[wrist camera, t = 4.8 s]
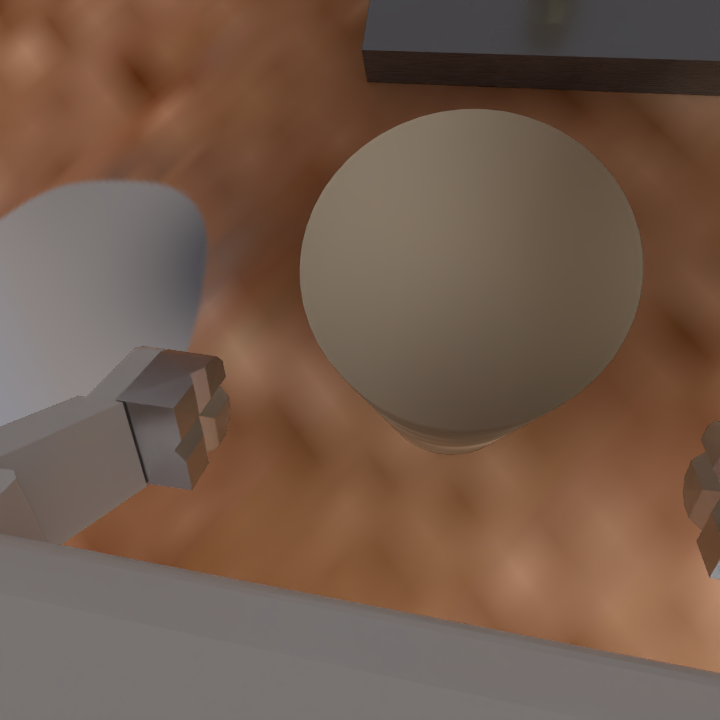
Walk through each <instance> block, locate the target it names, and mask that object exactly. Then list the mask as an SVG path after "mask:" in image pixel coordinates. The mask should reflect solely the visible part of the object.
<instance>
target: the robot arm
mask: <svg viewBox="0 0 720 720" xmlns="http://www.w3.org/2000/svg"><path fill="white" fill-rule="evenodd" d="M225 377H226V376H225V371H224V366H223V361H222V360H221V359H219V358H218V357H216V356H210V355H203V354H196V353H190V352H183V351H176V350H170V349H167V350H166V349H161V348H154V347H146V346H141V347H136V348H134V349H133V351H132V352H131V353H130V354H128V355H127V356H126V358H125V359H124V360H122V362H121V363H120V364H118V365H117V366H116V368H115V369H114V370H113V371H112V372H111V373H110V374H109V375H108V376H107V377H106V378H105V379H104V380H103V381H102V382H101V383H100V384H99V385H98V386H97V387H96V388H95V389H94V390H93V391H92V392H91V393H90V394H89V395H88V396H87V397H84V396H76V397H74V398H71V399H69V400H66V401H64V402H61V403H59V404H56V405H54V406H51V407H49V408H46V409H44V410H41V411H39V412H36V413H34V414H31V415H28V416H26V417H24V418H21V419H19V420H16V421H13V422H11V423H8V424H6V425H3V426H1V427H0V720H720V673H717V672H712V671H707V670H701V669H696V668H691V667H686V666H681V665H676V664H671V663H665V662H660V661H655V660H650V659H645V658H640V657H635V656H629V655H624V654H619V653H614V652H609V651H604V650H599V649H593V648H588V647H583V646H578V645H573V644H568V643H563V642H558V641H552V640H547V639H542V638H537V637H532V636H527V635H522V634H516V633H511V632H506V631H501V630H496V629H491V628H486V627H480V626H475V625H470V624H465V623H460V622H455V621H450V620H444V619H439V618H434V617H429V616H424V615H419V614H414V613H408V612H403V611H398V610H393V609H388V608H383V607H378V606H372V605H367V604H362V603H357V602H352V601H347V600H342V599H336V598H331V597H326V596H321V595H316V594H311V593H306V592H300V591H295V590H290V589H285V588H280V587H275V586H270V585H264V584H259V583H254V582H249V581H244V580H239V579H234V578H228V577H223V576H218V575H213V574H208V573H203V572H198V571H192V570H187V569H182V568H177V567H172V566H167V565H162V564H156V563H151V562H146V561H141V560H136V559H131V558H126V557H120V556H115V555H110V554H105V553H100V552H95V551H90V550H84V549H79V548H74V547H69V546H64V545H61V544H63V543H64V542H66V541H67V540H69V539H70V538H71V537H73V536H74V535H76V534H77V533H79V532H80V531H82V530H83V529H85V528H86V527H88V526H89V525H91V524H92V523H93V522H95V521H96V520H98V519H99V518H101V517H102V516H104V515H105V514H107V513H108V512H110V511H111V510H113V509H114V508H116V507H117V506H118V505H120V504H121V503H123V502H124V501H126V500H127V499H129V498H130V497H132V496H133V495H135V494H136V493H138V492H139V491H140V490H142V489H143V488H145V487H146V486H147V484H153V485H160V486H168V487H175V488H182V489H189V490H193V488H194V487H195V485H196V483H197V482H198V480H199V478H200V477H201V475H202V473H203V472H204V470H205V468H206V467H207V465H208V464H209V461H208V456H207V452H209V451H211V450H212V449H214V448H216V447H218V446H219V445H220V443H221V442H222V440H223V438H224V436H225V435H226V431H227V428H228V424H229V420H230V402H229V396H228V395H227V394H226V393H225V391H224V390H223V389H222V388H221V387H220V384H221V383H222V381H223V380H224V378H225ZM701 441H702V443H703V446H704V448H705V451H706V452H705V453H703V454H701V455H700V456H698V457H696V458H695V459H693V460H691V462H690V465H689V467H688V470H687V472H686V474H685V478H684V487H683V498H684V505H685V509H686V512H687V515H688V518H689V519H690V520H691V521H692V522H693V523H695V524H696V525H697V526H698V527H699V528H700V529H701V530H702V532H701V533H700V535H699V537H698V539H697V544H698V547H699V549H700V552H701V555H702V558H703V561H704V564H705V566H706V569H707V572H708V575H709V578H714V579H719V580H720V421H715V420H714V421H713V422H712V423H711V424H710V425H709V426H708V427H707V428H706V430H705V432H704V434H703V436H702V439H701Z"/></svg>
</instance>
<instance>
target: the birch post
mask: <svg viewBox="0 0 720 720" xmlns="http://www.w3.org/2000/svg"><path fill="white" fill-rule="evenodd" d="M642 281H643V251H642V245H641V239H640V233H639V229H638V226H637V223H636V220H635V217H634V213H633V211H632V209H631V207H630V205H629V202H628V200H627V198H626V196H625V194H624V192H623V191H622V189H621V188H620V186H619V185H618V183H617V182H616V180H615V178H614V177H613V175H612V174H611V173H610V172H609V171H608V170H607V168H606V167H605V166H604V165H603V164H602V163H601V162H600V160H599V159H598V158H597V157H595V156H594V155H593V154H592V153H591V152H590V151H589V150H587V149H586V148H585V147H584V146H583V145H582V144H580V143H579V142H577V141H576V140H574V139H573V138H571V137H570V136H568V135H567V134H565V133H564V132H562V131H560V130H558V129H556V128H554V127H552V126H550V125H548V124H546V123H543V122H541V121H538V120H535V119H532V118H529V117H527V116H523V115H519V114H514V113H510V112H505V111H498V110H488V109H459V110H451V111H443V112H438V113H433V114H429V115H425V116H421V117H418V118H415V119H413V120H410V121H407V122H405V123H402V124H400V125H398V126H396V127H394V128H392V129H390V130H388V131H386V132H384V133H382V134H380V135H379V136H377V137H376V138H374V139H373V140H371V141H370V142H368V143H367V144H365V145H364V146H363V147H362V148H360V149H359V150H358V151H357V152H356V153H355V154H353V155H352V156H351V157H350V158H349V159H348V160H347V161H346V162H345V163H344V164H343V165H342V166H341V167H340V169H339V170H338V171H337V172H336V173H335V174H334V176H333V177H332V178H331V180H330V181H329V183H328V184H327V185H326V187H325V188H324V190H323V191H322V193H321V195H320V197H319V199H318V201H317V202H316V204H315V206H314V208H313V211H312V213H311V216H310V218H309V221H308V224H307V226H306V230H305V234H304V239H303V243H302V248H301V257H300V288H301V294H302V300H303V306H304V309H305V312H306V316H307V319H308V322H309V325H310V328H311V330H312V332H313V334H314V336H315V338H316V340H317V343H318V345H319V346H320V348H321V349H322V351H323V352H324V354H325V356H326V357H327V359H328V360H329V362H330V363H331V364H332V365H333V367H334V368H335V369H336V370H337V371H338V372H339V374H340V375H341V376H342V377H343V378H344V379H345V380H346V381H347V382H348V383H349V384H350V385H351V386H352V387H353V388H354V389H355V390H356V391H357V392H358V393H359V394H360V395H361V396H362V397H363V398H364V399H365V400H366V401H367V402H368V403H369V404H370V405H371V406H372V407H373V408H374V409H375V410H376V411H377V412H378V413H379V414H380V415H381V416H382V417H383V418H384V419H385V420H386V421H387V422H388V423H389V424H390V425H391V426H392V427H393V428H394V429H395V430H396V431H398V432H399V433H400V434H401V435H402V436H403V437H404V438H405V439H407V440H408V441H410V442H411V443H413V444H414V445H416V446H418V447H420V448H422V449H425V450H428V451H431V452H435V453H440V454H450V455H452V454H464V453H469V452H473V451H476V450H479V449H481V448H483V447H485V446H487V445H489V444H491V443H493V442H495V441H497V440H498V439H500V438H502V437H504V436H506V435H508V434H509V433H511V432H513V431H515V430H517V429H518V428H520V427H522V426H524V425H526V424H528V423H529V422H531V421H533V420H535V419H537V418H538V417H540V416H542V415H544V414H546V413H548V412H549V411H551V410H553V409H555V408H557V407H558V406H560V405H562V404H563V403H565V402H566V401H568V400H569V399H571V398H572V397H574V396H575V395H577V394H578V393H580V392H581V391H582V390H583V389H584V388H585V387H586V386H588V385H589V384H590V383H591V382H592V381H593V380H594V379H596V378H597V377H598V375H599V374H600V373H601V372H602V371H603V370H604V369H605V367H606V366H607V365H608V364H609V363H610V362H611V360H612V359H613V358H614V356H615V354H616V353H617V351H618V350H619V348H620V347H621V345H622V344H623V342H624V340H625V338H626V336H627V334H628V332H629V329H630V327H631V325H632V323H633V321H634V318H635V314H636V311H637V307H638V304H639V301H640V296H641V289H642Z"/></svg>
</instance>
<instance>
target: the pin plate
mask: <svg viewBox="0 0 720 720" xmlns="http://www.w3.org/2000/svg"><path fill="white" fill-rule="evenodd" d="M362 54H363V60H364V65H365V71H366V76H367V82H389V83H415V84H440V85H465V86H490V87H515V88H540V89H565V90H591V91H616V92H641V93H666V94H691V95H716V96H720V0H370V3H369V9H368V15H367V21H366V27H365V33H364V39H363V45H362Z"/></svg>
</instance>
